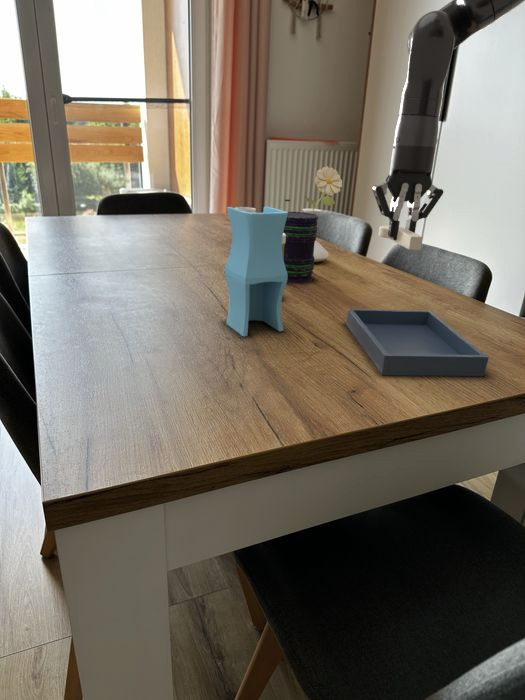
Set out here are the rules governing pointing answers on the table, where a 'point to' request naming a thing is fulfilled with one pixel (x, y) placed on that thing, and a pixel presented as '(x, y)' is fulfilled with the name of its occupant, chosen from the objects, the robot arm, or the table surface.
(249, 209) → the drinking glass
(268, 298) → the vase
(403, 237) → the cream round-headed paddle
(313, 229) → the storage jar
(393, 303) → the table surface
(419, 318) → the tray
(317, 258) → the flower in vase
